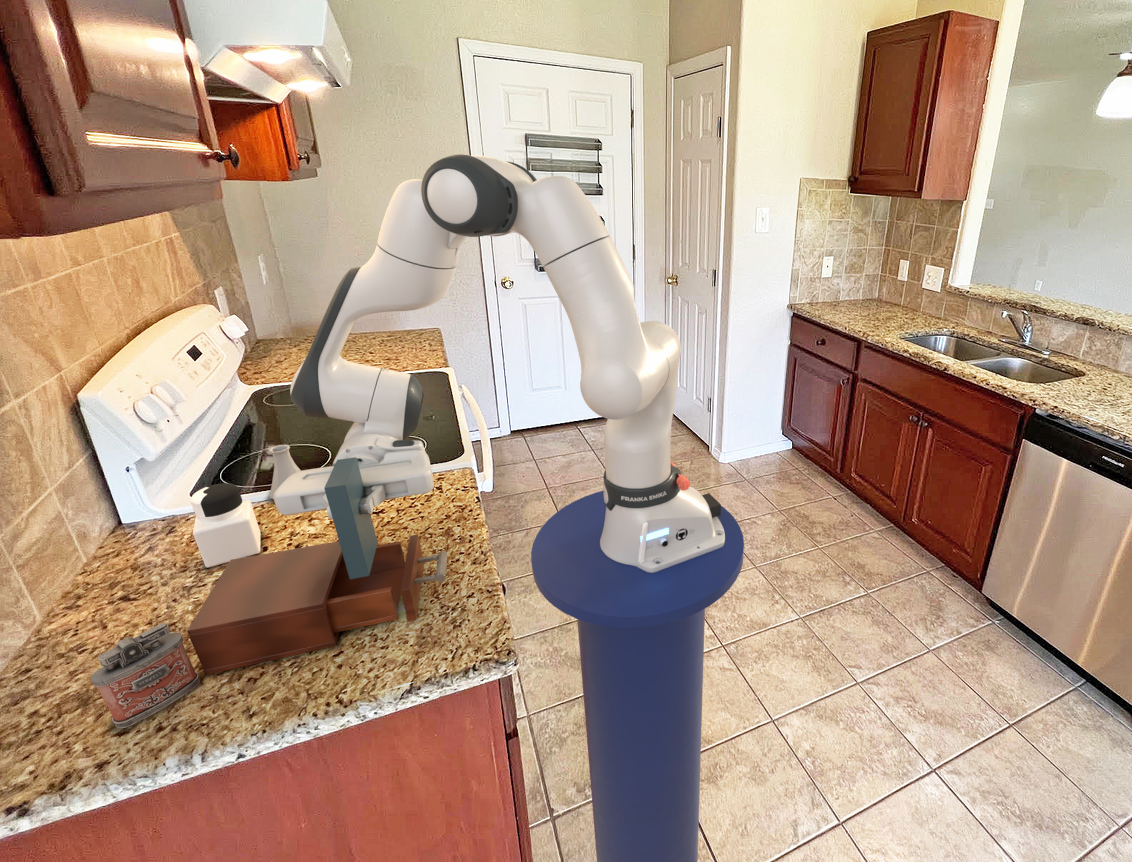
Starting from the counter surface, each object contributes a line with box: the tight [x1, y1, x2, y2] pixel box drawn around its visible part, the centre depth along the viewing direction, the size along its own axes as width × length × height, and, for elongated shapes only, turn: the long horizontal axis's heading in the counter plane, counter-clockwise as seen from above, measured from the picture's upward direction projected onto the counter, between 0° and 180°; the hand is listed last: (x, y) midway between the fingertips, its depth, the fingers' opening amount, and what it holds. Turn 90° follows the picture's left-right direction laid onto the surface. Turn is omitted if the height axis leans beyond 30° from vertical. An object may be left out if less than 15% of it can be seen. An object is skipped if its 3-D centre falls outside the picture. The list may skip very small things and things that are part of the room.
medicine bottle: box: [190, 482, 261, 568], centre depth 95 cm, size 7×7×12 cm
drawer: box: [326, 534, 449, 633], centre depth 86 cm, size 18×13×6 cm
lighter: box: [90, 622, 201, 729], centre depth 69 cm, size 8×3×10 cm, turn 151°
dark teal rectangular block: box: [324, 457, 379, 579], centre depth 81 cm, size 2×8×15 cm, turn 21°
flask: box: [268, 443, 302, 501], centre depth 112 cm, size 7×7×10 cm
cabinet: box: [186, 540, 343, 676], centre depth 82 cm, size 15×15×8 cm
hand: (349, 512), depth 79 cm, fingers closed on dark teal rectangular block, 2 cm apart
